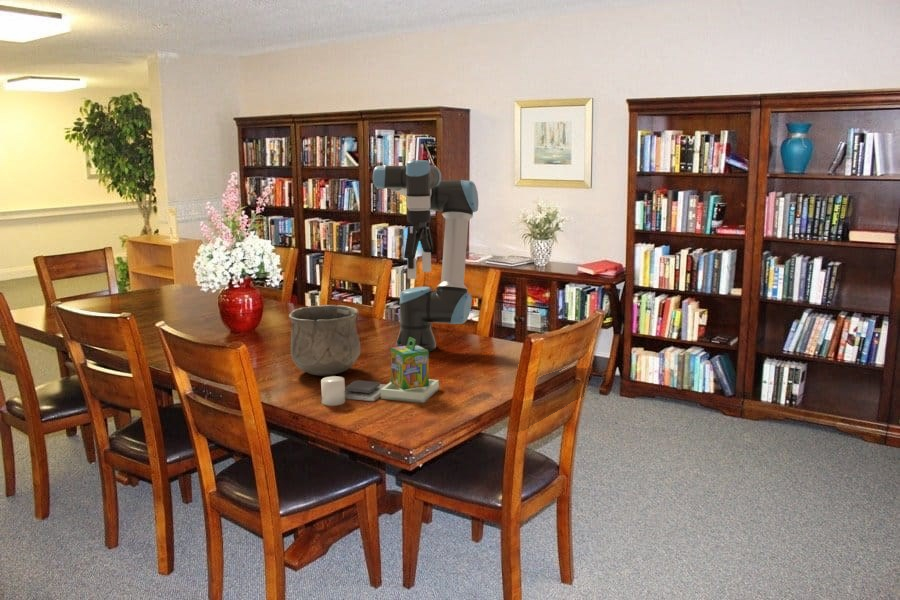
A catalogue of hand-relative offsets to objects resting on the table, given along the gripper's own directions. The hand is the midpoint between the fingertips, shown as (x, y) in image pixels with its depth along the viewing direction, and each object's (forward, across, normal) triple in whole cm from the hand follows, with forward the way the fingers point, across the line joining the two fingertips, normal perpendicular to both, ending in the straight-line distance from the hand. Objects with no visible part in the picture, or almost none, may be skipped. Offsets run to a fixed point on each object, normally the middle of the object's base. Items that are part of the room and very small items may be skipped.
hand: (419, 275), depth 250 cm
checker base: (+35, +20, -12) cm, 42 cm away
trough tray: (+35, +16, +2) cm, 39 cm away
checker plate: (+33, +20, -12) cm, 40 cm away
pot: (+35, +4, -33) cm, 48 cm away
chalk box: (+32, +16, +2) cm, 36 cm away
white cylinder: (+35, +30, -17) cm, 49 cm away
